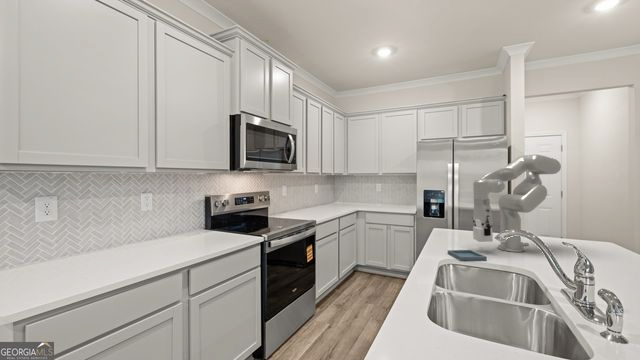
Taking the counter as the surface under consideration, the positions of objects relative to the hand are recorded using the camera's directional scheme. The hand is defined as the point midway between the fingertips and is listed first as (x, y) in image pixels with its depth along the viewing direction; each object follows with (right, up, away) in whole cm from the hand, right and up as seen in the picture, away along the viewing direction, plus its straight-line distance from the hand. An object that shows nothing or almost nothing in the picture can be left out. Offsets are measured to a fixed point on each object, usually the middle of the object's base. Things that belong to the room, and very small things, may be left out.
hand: (482, 233), depth 151 cm
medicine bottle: (0, -4, 0) cm, 4 cm away
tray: (-14, -10, -10) cm, 20 cm away
